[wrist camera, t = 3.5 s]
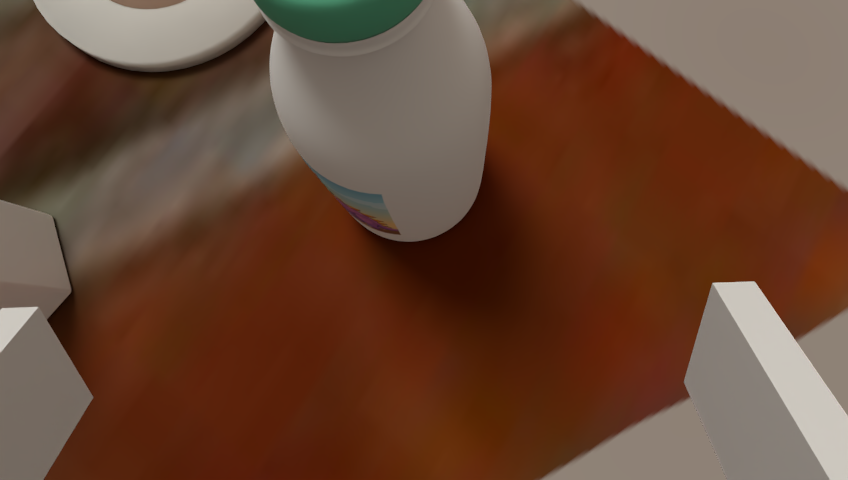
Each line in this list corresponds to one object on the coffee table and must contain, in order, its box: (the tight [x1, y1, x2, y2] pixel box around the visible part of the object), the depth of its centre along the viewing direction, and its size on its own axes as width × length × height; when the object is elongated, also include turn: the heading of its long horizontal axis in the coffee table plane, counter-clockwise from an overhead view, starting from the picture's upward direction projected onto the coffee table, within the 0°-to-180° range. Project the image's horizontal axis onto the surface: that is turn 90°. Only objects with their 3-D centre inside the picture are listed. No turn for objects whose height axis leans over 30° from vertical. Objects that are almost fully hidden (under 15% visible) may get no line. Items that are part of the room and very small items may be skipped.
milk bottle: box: [254, 0, 491, 242], centre depth 21 cm, size 8×8×20 cm
